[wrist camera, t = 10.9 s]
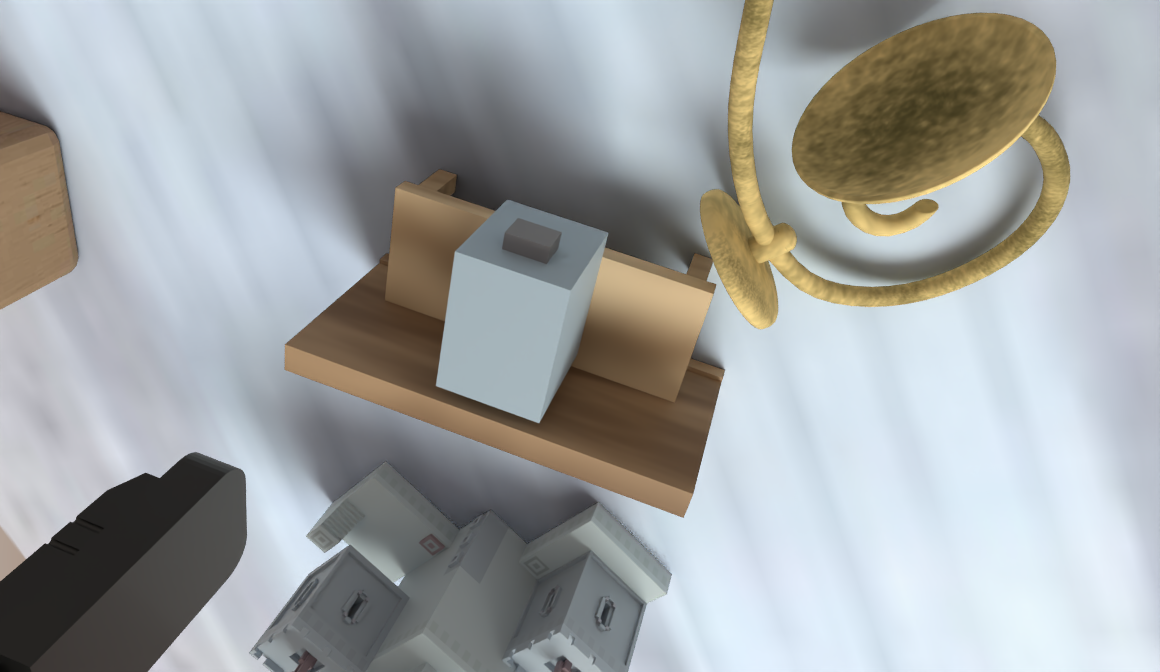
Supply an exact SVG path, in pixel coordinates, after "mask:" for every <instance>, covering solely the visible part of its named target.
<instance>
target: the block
mask: <svg viewBox="0 0 1160 672" xmlns="http://www.w3.org/2000/svg"><path fill="white" fill-rule="evenodd" d="M77 261H78V252H77V246H76V240H75V234H74V228H73V222H72V216H71V210H70V204H69V198H68V192H67V186H66V180H65V174H64V168H63V162H62V156H61V150H60V144H59V140H58V138H57V137H56V135H55V133H54V132H53V131H52V130H51V129H50V128H48V127H47V126H44V125H41V124H38V123H35V122H32V121H29V120H26V119H22V118H19V117H16V116H13V115H10V114H7V113H4V112H1V111H0V309H2V308H4V307H6V306H8V305H10V304H12V303H13V302H15V301H17V300H19V299H21V298H23V297H25V296H27V295H28V294H30V293H32V292H34V291H36V290H38V289H40V288H41V287H43V286H45V285H47V284H49V283H51V282H53V281H55V280H56V279H58V278H60V277H62V276H64V275H66V274H68V273H70V272H71V271H72V270H73V269H74V268H75V267H76V265H77Z"/></svg>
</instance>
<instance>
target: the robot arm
mask: <svg viewBox="0 0 1160 672" xmlns="http://www.w3.org/2000/svg"><path fill="white" fill-rule="evenodd" d="M246 539H247V522H246V479H245V474H244V472H243V471H242V470H241V469H239V468H236V467H233V466H231V465H228V464H226V463H223V462H221V461H218V460H216V459H213V458H211V457H208V456H205V455H203V454H200V453H197V452H194V453H190V454H188V455H186V456H185V457H183V458H182V459H181V460H179V461H178V462H177V463H176V464H175V465H174V466H173V467H172V468H171V469H169V470H168V471H167V472H166V473H165V474H164V475H163V476H162V477H161V478H158V477H155V476H153V475H150V474H148V473H144V474H142V475H140V476H138V477H135V478H133V479H131V480H129V481H127V482H125V483H122V484H120V485H118V486H116V487H114V488H111V489H109V490H107V491H106V492H105V493H104V494H102V495H101V496H100V497H99V498H98V499H97V500H95V501H94V502H93V503H92V504H91V505H89V506H88V507H87V508H86V509H85V510H84V511H82V512H81V513H80V514H79V515H78V516H77V517H76V520H75V521H74V522H73V523H72V522H70V523H68V524H67V525H66V526H65V527H64V528H62V529H61V530H60V531H59V532H58V533H57V534H55V535H54V536H53V537H52V538H51V541H50V543H49V544H44V545H43V546H41V547H40V548H39V549H38V550H37V551H36V552H34V553H33V554H32V555H31V556H30V557H28V558H27V559H26V560H25V561H24V562H23V563H22V564H20V565H19V566H18V567H17V568H16V569H14V570H13V571H12V572H11V573H10V574H9V575H7V576H6V577H5V578H4V579H3V580H2V581H0V672H148V670H149V669H150V668H151V667H152V666H153V665H154V664H155V662H156V661H157V660H158V659H159V658H160V657H161V655H162V654H163V653H164V652H165V651H166V650H167V649H168V647H169V646H170V645H171V644H172V643H173V642H174V640H175V639H176V638H177V637H178V636H179V635H180V633H181V632H182V631H183V630H184V629H185V628H186V627H187V625H188V624H189V623H190V622H191V621H192V620H193V618H194V617H195V616H196V615H197V614H198V613H199V611H200V610H201V609H202V608H203V607H204V606H205V605H206V603H207V602H208V601H209V600H210V599H211V598H212V596H213V595H214V594H215V593H216V592H217V591H218V589H219V588H220V587H221V586H222V585H223V584H224V583H225V581H226V580H227V579H228V578H229V577H230V575H231V574H232V572H233V571H234V569H235V568H236V566H237V564H238V562H239V561H240V558H241V556H242V554H243V551H244V548H245V545H246Z"/></svg>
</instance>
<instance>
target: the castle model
mask: <svg viewBox="0 0 1160 672" xmlns="http://www.w3.org/2000/svg"><path fill="white" fill-rule="evenodd" d="M306 537H307V538H308V539H310V540H311V541H312V542H313V543H314V544H315V545H316V546H317V547H319V548H320V549H321V550H322V551H323V552H324V553H325V552H327V551H328V550H330V549H331V548H332V547H334V546H335V545H336V544H338V543H339V542H340V541H341V540H342V539H343V540H344V541H345V542H346V543H347V544H348V545H349V546H347V547H346V548H344V549H343V550H342V551H340V552H339V553H337V554H336V555H335V556H333V557H332V558H330V559H329V560H328V561H326V562H325V563H323V564H322V565H321V566H319V567H318V568H316V569H315V570H314V571H312V572H311V573H309V574H308V576H307V577H306V578H305V580H304V581H303V582H302V584H301V585H300V586H299V588H298V589H297V590H296V592H295V593H294V594H293V596H292V597H291V598H290V600H289V601H288V602H287V603H286V605H285V606H284V607H283V609H282V610H281V611H280V613H279V614H278V615H277V617H276V618H275V619H274V621H273V622H272V623H271V625H270V626H269V627H268V629H267V630H266V631H265V633H264V634H263V635H262V637H261V638H260V639H259V640H258V642H257V643H256V644H255V646H254V647H253V648H252V650H251V651H250V652H249V654H251V655H252V656H253V657H254V658H255V659H257V660H258V659H259V658H260V657H261V655H263V656H264V657H266V658H267V659H266V661H265V662H264V663H263V665H264V666H265V667H266V668H267V669H269V670H270V671H271V672H628V669H629V666H630V662H631V659H632V655H633V651H634V648H635V644H636V641H637V637H638V633H639V630H640V626H641V623H642V619H643V615H644V612H645V608H646V605H647V603H649V602H651V601H654V600H656V599H658V598H660V597H662V596H664V595H666V594H667V591H668V587H669V583H670V579H671V575H672V574H671V573H670V572H669V571H668V570H667V569H666V568H665V567H664V566H663V565H662V564H661V563H660V562H659V561H658V560H657V559H656V558H654V557H653V556H652V555H651V554H650V553H649V552H648V551H647V550H646V549H645V548H644V547H643V546H642V545H641V544H640V543H639V542H638V541H637V540H636V539H635V538H634V537H633V536H632V535H631V534H630V533H629V532H628V531H627V530H626V529H625V528H624V527H623V526H622V525H621V524H620V523H619V522H618V521H617V520H616V519H615V518H614V517H613V516H612V515H611V514H610V513H609V512H608V511H607V510H606V509H605V508H604V507H603V506H602V505H601V504H600V503H599V502H598V503H596V504H595V505H593V506H591V507H589V508H588V509H586V510H584V511H583V512H581V513H579V514H578V515H576V516H574V517H572V518H571V519H569V520H567V521H566V522H564V523H562V524H561V525H559V526H557V527H555V528H554V529H552V530H550V531H549V532H547V533H545V534H544V535H542V536H540V537H538V538H537V539H535V540H533V541H532V542H530V543H528V544H527V543H526V542H525V541H523V540H522V539H521V538H520V537H519V536H518V535H517V534H516V533H515V532H514V531H513V530H512V529H511V528H510V527H509V526H508V525H507V524H506V523H505V522H503V521H502V520H501V519H500V518H499V517H498V516H497V515H496V514H495V513H494V512H493V511H492V510H489V511H488V512H486V513H485V514H482V515H480V516H478V517H477V518H475V519H474V521H472V522H471V523H469V524H468V525H466V526H465V527H463V528H462V529H460V530H459V529H458V528H457V527H456V526H455V525H454V524H453V523H452V522H451V521H450V520H449V519H447V518H446V517H445V516H444V515H443V514H442V513H441V512H440V511H439V510H438V509H437V508H436V507H435V506H434V505H432V504H431V503H430V502H429V501H428V500H427V499H426V498H425V497H424V496H423V495H422V494H421V493H420V492H419V491H417V490H416V489H415V488H414V487H413V486H412V485H411V484H410V483H409V482H408V481H407V480H406V479H405V478H403V477H402V476H401V475H400V474H399V473H398V472H397V471H396V470H395V469H394V468H393V467H392V466H391V465H390V464H388V463H387V462H384V463H383V464H382V465H380V466H379V467H378V468H377V469H375V470H374V471H373V472H372V473H370V474H369V475H368V476H366V477H365V478H364V479H363V480H361V481H360V482H359V483H357V484H356V485H355V486H354V487H352V488H351V489H350V490H349V491H347V492H346V493H345V494H343V495H342V496H341V497H340V498H338V499H337V500H336V501H334V502H333V503H332V504H331V506H330V507H329V508H328V509H327V511H326V512H325V513H324V514H323V516H322V517H321V518H320V519H319V520H318V522H317V523H316V524H315V525H314V527H313V528H312V529H311V530H310V532H309V533H308V534H307V535H306ZM403 576H405V577H404V578H403V580H402V582H401V583H400V585H399V586H396V585H395V584H394V582H395V581H397V580H398V579H400V578H402V577H403Z"/></svg>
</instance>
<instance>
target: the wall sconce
mask: <svg viewBox="0 0 1160 672" xmlns="http://www.w3.org/2000/svg"><path fill="white" fill-rule="evenodd" d="M773 1H774V0H745V4H744V9H743V14H742V20H741V25H740V30H739V35H738V40H737V46H736V51H735V56H734V62H733V69H732V75H731V82H730V93H729V103H728V140H729V155H730V162H731V169H732V176H733V181H734V185H735V190H736V194H737V198H738V202H739V205H740V207H741V208H740V207H739V205H738V204H737V203H736V202H735V201H734V200H733V199H732V198H731V197H730V196H729V195H728V194H727V193H725V192H724V191H722V190H719V189H714V190H710V191H708V192H706V193H705V194H703V196H702V197H701V201H700V215H701V222H702V227H703V231H704V236H705V239H706V242H707V246H708V249H709V252H710V255H711V257H712V260H713V262H714V265H715V267H716V270H717V272H718V274H719V276H720V278H721V280H722V283H723V285H724V286H725V288H726V290H727V292H728V294H729V296H730V297H731V299H732V301H733V302H734V304H735V305H736V307H737V308H738V310H739V311H740V312H741V314H742V315H743V316H744V317H745V319H746V320H747V321H748V322H749V323H750V324H751V325H753V326H754V327H756V328H758V329H764V328H767V327H769V326H771V325H772V324H773V323H774V322H775V321H776V318H777V314H778V298H777V291H776V286H775V282H774V278H773V274H772V271H771V268H770V265H769V262H768V260H769V261H770V262H771V263H772V264H773V265H774V266H775V267H776V268H777V270H778V271H779V272H780V273H781V274H782V275H783V276H784V277H785V278H786V279H787V280H789V281H790V282H791V283H792V284H794V285H795V286H796V287H797V288H798V289H800V290H801V291H803V292H805V293H807V294H809V295H811V296H813V297H815V298H818V299H821V300H825V301H828V302H832V303H837V304H843V305H850V306H864V307H879V306H894V305H902V304H909V303H914V302H919V301H923V300H927V299H931V298H934V297H938V296H941V295H944V294H947V293H950V292H952V291H955V290H958V289H960V288H963V287H965V286H967V285H970V284H972V283H974V282H976V281H978V280H980V279H982V278H984V277H986V276H989V275H990V274H992V273H994V272H996V271H997V270H999V269H1001V268H1003V267H1004V266H1006V265H1007V264H1009V263H1010V262H1012V261H1013V260H1015V259H1016V258H1018V257H1019V256H1020V255H1022V254H1023V253H1024V252H1025V251H1026V250H1028V249H1029V248H1030V247H1031V246H1033V245H1034V244H1035V243H1036V242H1037V241H1038V240H1039V238H1040V237H1041V236H1042V235H1043V234H1044V233H1045V232H1046V231H1047V230H1048V228H1049V227H1050V226H1051V224H1052V223H1053V222H1054V220H1055V219H1056V217H1057V216H1058V214H1059V212H1060V210H1061V209H1062V207H1063V204H1064V201H1065V199H1066V196H1067V193H1068V189H1069V183H1070V165H1069V160H1068V155H1067V153H1066V150H1065V148H1064V145H1063V143H1062V141H1061V139H1060V137H1059V135H1058V134H1057V132H1056V131H1055V130H1054V128H1053V127H1052V126H1051V125H1050V124H1049V123H1048V122H1047V121H1046V120H1045V119H1043V118H1042V117H1040V116H1039V113H1040V112H1041V110H1042V108H1043V107H1044V105H1045V104H1046V102H1047V99H1048V97H1049V95H1050V93H1051V90H1052V87H1053V83H1054V79H1055V74H1056V58H1055V53H1054V48H1053V46H1052V44H1051V42H1050V40H1049V38H1048V37H1047V36H1046V35H1045V34H1044V32H1043V31H1042V30H1040V29H1039V28H1038V27H1036V26H1035V25H1034V24H1032V23H1030V22H1028V21H1026V20H1024V19H1021V18H1018V17H1014V16H1011V15H1005V14H998V13H971V14H962V15H956V16H950V17H945V18H941V19H937V20H933V21H930V22H927V23H924V24H921V25H918V26H915V27H913V28H910V29H908V30H905V31H903V32H900V33H898V34H896V35H894V36H892V37H890V38H888V39H886V40H884V41H882V42H880V43H879V44H877V45H875V46H873V47H872V48H870V49H868V50H867V51H865V52H864V53H862V54H861V55H859V56H858V57H856V58H855V59H854V60H852V61H851V62H850V63H848V64H847V65H846V66H844V67H843V68H842V69H841V70H840V71H839V72H837V73H836V74H835V75H834V76H833V77H832V78H831V79H830V80H829V81H828V82H827V83H826V84H825V85H824V86H823V87H822V88H821V89H820V90H819V92H818V93H817V94H816V95H815V96H814V98H813V99H812V100H811V102H810V103H809V105H808V106H807V107H806V109H805V111H804V113H803V114H802V116H801V118H800V120H799V122H798V125H797V127H796V130H795V133H794V137H793V142H792V158H793V163H794V166H795V169H796V171H797V173H798V174H799V176H800V178H801V179H802V180H803V181H804V182H805V183H806V184H807V185H808V186H809V187H810V188H811V189H813V190H814V191H816V192H817V193H819V194H821V195H823V196H825V197H827V198H830V199H833V200H837V201H841V202H842V207H843V209H844V212H845V215H846V217H847V218H848V219H849V220H850V221H851V223H852V224H853V225H854V226H855V227H857V228H859V229H860V230H862V231H863V232H865V233H869V234H872V235H875V236H892V235H896V234H901V233H904V232H907V231H909V230H912V229H914V228H916V227H918V226H920V225H921V224H922V223H924V222H925V221H926V220H928V219H929V218H930V217H931V216H932V215H933V214H934V213H935V212H936V211H937V209H938V204H937V203H936V202H935V201H933V200H930V199H922V200H919V201H918V202H916V203H915V204H913V205H912V206H911V207H909V208H907V209H906V210H904V211H902V212H900V213H897V214H892V215H881V214H878V213H875V212H873V211H872V210H870V209H869V208H868V207H867V206H866V204H881V203H891V202H896V201H902V200H907V199H911V198H914V197H918V196H922V195H925V194H928V193H931V192H933V191H936V190H939V189H942V188H944V187H946V186H949V185H951V184H953V183H955V182H957V181H959V180H961V179H963V178H965V177H967V176H969V175H970V174H972V173H974V172H976V171H977V170H979V169H981V168H982V167H984V166H985V165H987V164H988V163H990V162H991V161H992V160H994V159H995V158H997V157H998V156H999V155H1000V154H1002V153H1003V152H1004V151H1005V150H1007V149H1008V148H1009V147H1010V146H1011V145H1012V144H1013V143H1014V142H1015V141H1016V140H1017V139H1018V138H1019V137H1020V136H1021V137H1023V138H1024V139H1025V140H1026V141H1028V142H1029V143H1030V145H1031V146H1032V147H1033V149H1034V150H1035V152H1036V154H1037V156H1038V158H1039V160H1040V162H1041V166H1042V169H1043V178H1044V180H1043V187H1042V191H1041V194H1040V198H1039V200H1038V202H1037V204H1036V206H1035V208H1034V209H1033V210H1032V212H1031V213H1030V215H1029V216H1028V218H1027V219H1026V220H1025V221H1024V222H1023V223H1022V224H1021V226H1020V227H1019V228H1018V229H1017V230H1016V231H1014V232H1013V233H1012V234H1011V235H1010V236H1009V237H1008V238H1006V239H1005V240H1004V241H1002V242H1001V243H1000V244H998V245H997V246H995V247H994V248H992V249H991V250H989V251H987V252H986V253H984V254H982V255H981V256H979V257H977V258H975V259H973V260H971V261H969V262H967V263H965V264H963V265H961V266H959V267H957V268H954V269H952V270H950V271H947V272H945V273H942V274H939V275H937V276H934V277H930V278H927V279H924V280H920V281H916V282H911V283H907V284H901V285H893V286H880V287H863V286H851V285H845V284H839V283H835V282H832V281H828V280H825V279H823V278H821V277H819V276H817V275H815V274H813V273H811V272H810V271H809V270H807V269H806V268H805V267H804V266H803V265H802V264H800V263H799V262H798V261H797V260H796V259H795V257H794V256H793V255H792V254H791V253H790V251H791V250H792V249H794V248H795V246H796V242H797V237H796V234H795V231H794V230H793V228H792V227H791V226H790V225H788V224H785V223H781V224H778V225H775V226H773V225H772V223H771V221H770V219H769V217H768V215H767V213H766V210H765V207H764V204H763V201H762V199H761V195H760V191H759V186H758V182H757V177H756V170H755V162H754V154H753V133H752V125H753V106H754V97H755V89H756V82H757V77H758V71H759V65H760V60H761V56H762V51H763V46H764V42H765V37H766V33H767V28H768V24H769V19H770V15H771V10H772V5H773Z"/></svg>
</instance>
